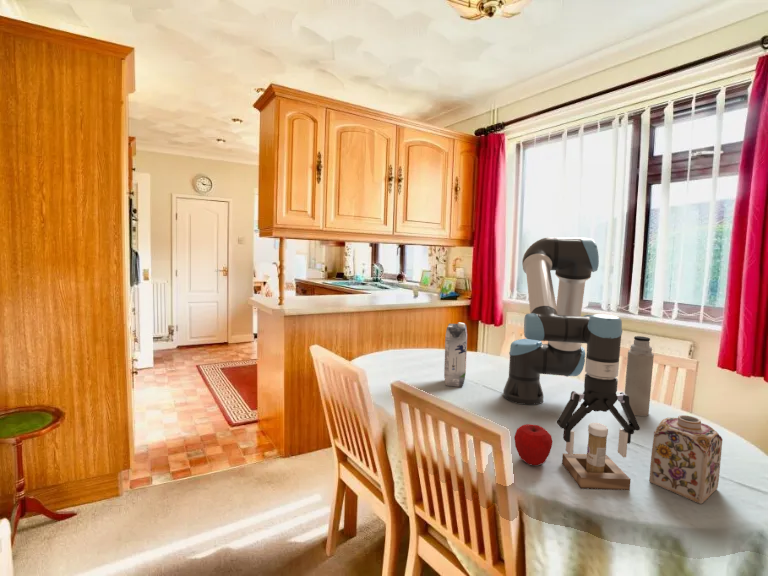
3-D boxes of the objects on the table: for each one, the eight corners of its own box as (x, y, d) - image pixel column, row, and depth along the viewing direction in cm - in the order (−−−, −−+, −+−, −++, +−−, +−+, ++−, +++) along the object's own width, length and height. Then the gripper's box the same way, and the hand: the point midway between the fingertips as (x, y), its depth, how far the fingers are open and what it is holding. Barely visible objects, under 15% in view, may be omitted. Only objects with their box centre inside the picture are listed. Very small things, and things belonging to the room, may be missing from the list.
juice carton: (443, 386, 177) (445, 324, 174) (445, 378, 187) (447, 319, 184) (464, 388, 175) (466, 325, 172) (465, 380, 185) (467, 320, 182)
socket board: (561, 463, 116) (562, 453, 115) (605, 465, 115) (606, 454, 115) (580, 488, 104) (581, 477, 103) (629, 490, 103) (630, 479, 103)
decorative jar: (702, 506, 98) (709, 433, 96) (647, 482, 107) (653, 415, 105) (719, 489, 105) (726, 420, 103) (666, 468, 114) (672, 405, 112)
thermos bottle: (620, 406, 158) (626, 334, 155) (644, 408, 156) (650, 335, 153) (626, 414, 150) (633, 338, 147) (651, 417, 148) (658, 340, 145)
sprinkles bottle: (581, 470, 111) (584, 422, 110) (597, 469, 112) (601, 421, 110) (591, 479, 107) (595, 430, 105) (608, 479, 107) (612, 429, 106)
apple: (507, 462, 116) (509, 424, 115) (523, 450, 123) (525, 415, 122) (541, 476, 109) (543, 436, 108) (556, 463, 116) (559, 426, 115)
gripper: (557, 378, 103) (552, 459, 105) (660, 381, 102) (652, 462, 105) (546, 369, 111) (542, 445, 113) (642, 371, 110) (635, 448, 112)
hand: (595, 454), depth 109 cm, fingers open, 13 cm apart
